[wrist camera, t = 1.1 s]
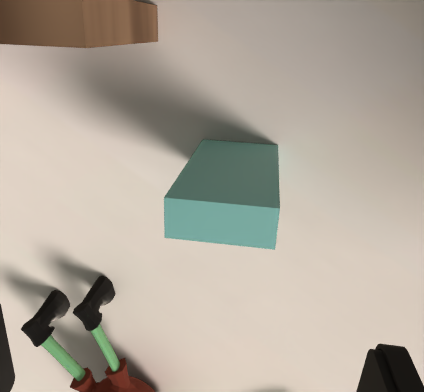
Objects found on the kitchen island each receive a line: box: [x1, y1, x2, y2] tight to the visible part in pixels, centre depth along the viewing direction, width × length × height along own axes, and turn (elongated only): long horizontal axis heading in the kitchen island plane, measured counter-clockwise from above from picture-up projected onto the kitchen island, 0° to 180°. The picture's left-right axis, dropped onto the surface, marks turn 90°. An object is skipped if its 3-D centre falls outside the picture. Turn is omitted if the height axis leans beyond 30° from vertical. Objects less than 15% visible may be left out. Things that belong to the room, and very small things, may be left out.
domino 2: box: [164, 139, 280, 249], centre depth 21 cm, size 5×2×10 cm, turn 88°
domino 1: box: [0, 0, 158, 48], centre depth 19 cm, size 5×2×10 cm, turn 88°
